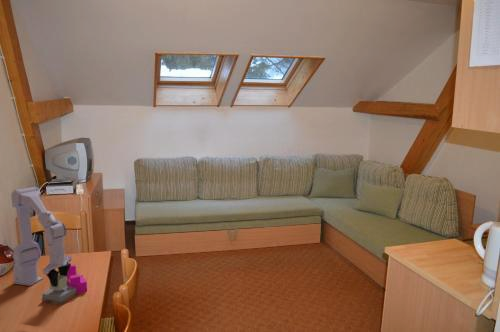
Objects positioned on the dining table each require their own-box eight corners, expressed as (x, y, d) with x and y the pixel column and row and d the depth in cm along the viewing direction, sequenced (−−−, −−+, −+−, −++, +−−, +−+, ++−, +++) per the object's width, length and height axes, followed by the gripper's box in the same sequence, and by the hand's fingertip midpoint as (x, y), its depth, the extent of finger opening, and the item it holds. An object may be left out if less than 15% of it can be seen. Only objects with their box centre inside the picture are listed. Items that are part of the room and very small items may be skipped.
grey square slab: (42, 303, 164) (41, 298, 164) (58, 293, 173) (58, 289, 172) (60, 306, 162) (59, 302, 161) (75, 296, 170) (75, 292, 170)
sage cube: (50, 289, 165) (49, 279, 164) (58, 284, 169) (57, 274, 169) (59, 290, 164) (58, 280, 163) (67, 285, 168) (66, 275, 168)
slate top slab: (42, 298, 164) (42, 293, 164) (59, 288, 173) (59, 284, 172) (59, 302, 161) (59, 297, 161) (76, 292, 170) (75, 287, 169)
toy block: (87, 291, 174) (86, 275, 173) (71, 294, 171) (70, 278, 169) (81, 278, 186) (80, 263, 185) (67, 281, 183) (66, 265, 182)
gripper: (52, 260, 156) (54, 292, 158) (77, 247, 170) (78, 277, 172) (37, 258, 158) (39, 290, 160) (63, 245, 172) (64, 275, 174)
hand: (59, 283), depth 166 cm, fingers closed on sage cube, 4 cm apart
